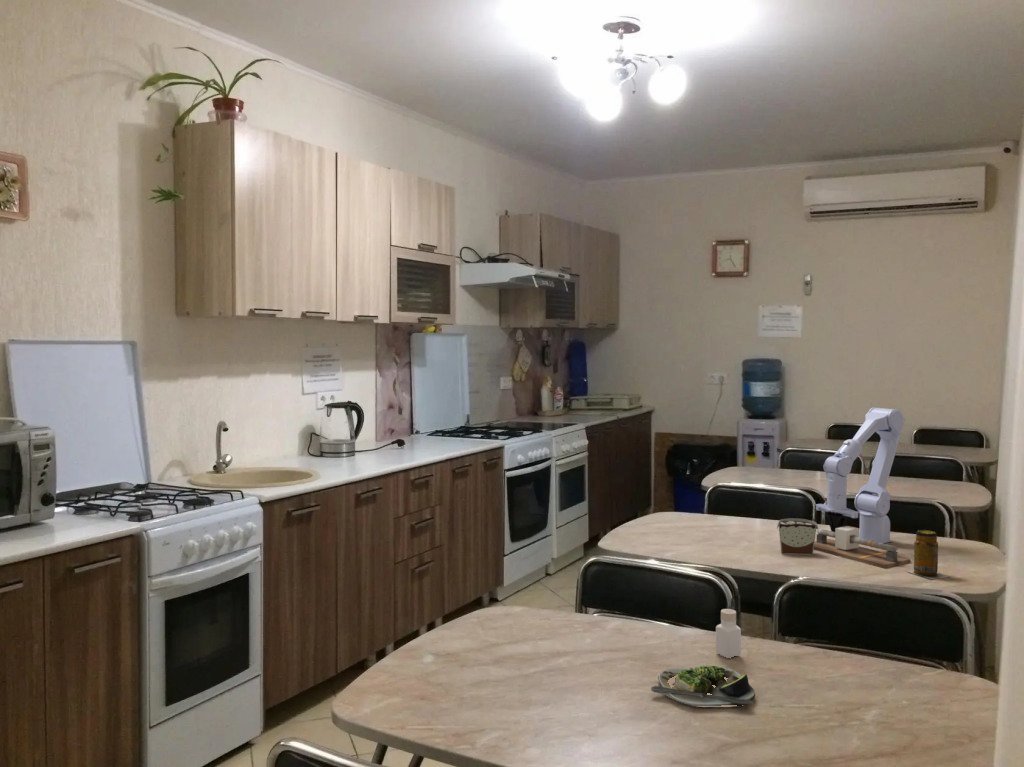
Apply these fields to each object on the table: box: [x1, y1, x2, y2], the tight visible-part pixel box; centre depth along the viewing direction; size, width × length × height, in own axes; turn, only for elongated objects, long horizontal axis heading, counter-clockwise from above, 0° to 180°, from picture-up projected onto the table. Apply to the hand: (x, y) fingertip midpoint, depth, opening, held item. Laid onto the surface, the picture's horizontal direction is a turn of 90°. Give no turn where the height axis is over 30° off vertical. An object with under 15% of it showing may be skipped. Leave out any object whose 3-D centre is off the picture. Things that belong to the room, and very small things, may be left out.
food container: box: [776, 518, 819, 556], centre depth 257 cm, size 12×6×10 cm, turn 83°
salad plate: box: [650, 664, 756, 707], centre depth 156 cm, size 19×18×5 cm
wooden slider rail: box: [813, 527, 911, 569], centre depth 254 cm, size 12×29×6 cm, turn 30°
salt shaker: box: [715, 608, 742, 659], centre depth 174 cm, size 4×4×10 cm
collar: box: [834, 525, 860, 550], centre depth 256 cm, size 6×4×6 cm, turn 120°
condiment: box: [906, 529, 950, 580], centre depth 232 cm, size 7×8×12 cm
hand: (836, 536), depth 263 cm, fingers closed
